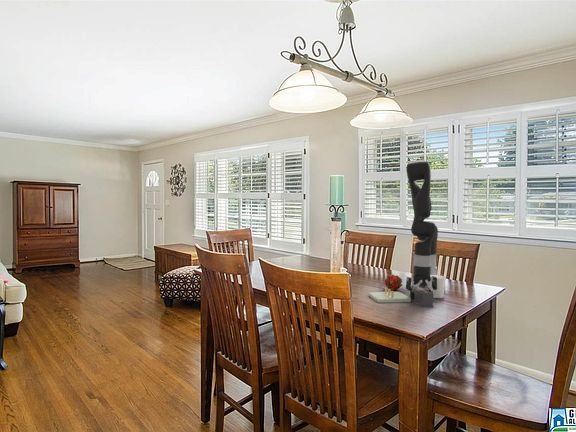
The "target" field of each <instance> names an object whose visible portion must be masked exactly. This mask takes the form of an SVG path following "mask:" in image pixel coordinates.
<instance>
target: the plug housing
mask: <svg viewBox="0 0 576 432" xmlns="http://www.w3.org/2000/svg"><path fill="white" fill-rule="evenodd" d="M414 292H415V295H414V300H412V299H411V301H412V302H413V303H416V304H417V305H418V306H421V307H422V308H424V307H425V308H427V307H429V308H431V307H433V306H434V298H433V293H432V292H430V291H428V289H427V288H425V287H424V288H423V286H422V287H419V286H418V288H416V289H415V291H414Z"/></svg>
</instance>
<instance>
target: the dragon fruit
mask: <svg viewBox="0 0 576 432" xmlns="http://www.w3.org/2000/svg"><path fill="white" fill-rule="evenodd" d="M384 284H385V287H388V289H391V291H394V290H395V292H398V290H400V288H402V287H403V278H401V277H400V276H399V275H398V274H397V275H395V274H391V275H388V276H387V277H386V278H385V280H384Z"/></svg>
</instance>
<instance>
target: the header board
mask: <svg viewBox="0 0 576 432" xmlns="http://www.w3.org/2000/svg"><path fill="white" fill-rule="evenodd" d="M368 297H370V298H371V299H373V301H375V302H376V303H380V304H381V303H407V302H409V303H410V302H411V301H412V300H411V298H410V296H407V295H406V294H404V293H403V292H400V291H394V290H392V291H391V289H388V287H386V286H385V287H384V291H379V292H378V291H376V292H373V291H372V292H368Z"/></svg>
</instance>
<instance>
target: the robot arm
mask: <svg viewBox="0 0 576 432" xmlns="http://www.w3.org/2000/svg"><path fill="white" fill-rule="evenodd" d="M431 172H432V171H431V165H430V162H429V161H428V160H421V161H413V162H408V163H407V165H406V175H407V181H408V184H409V189H410V195H411V202H412V209H413V213H414V214H413V215H414V216H413V221H412V224H411V228H410V231H411V234H412V236H414V237H416V238H417V240H419V241H416V242H415V243H414V254H413V255H414V257H413V266H412V267H413V269H412V270H413V274H412V275H413V276H412V277H410V276H406V278H405V279H406V281H405V289H406V290H407V291H409V298H411V299H412V300H414V295H415V292H414V291H415V289H416V288H418V287H422V288H423V287H424V288H425V287H426V289H427V290H428V291H430V292H432V293H433V291H434V290H437V278H436V277H434V276H432V277H430V275H438V267H437V249H438V248H437V247H438V238H439V237H438V236H439V228H438V226H437V225H436V224H435V223H434V221H430V220H429V221H427V220H426V219H428V218H430V216H431V211H432V200H431V199H432V198H431V196H430V194H431V182H432V181H431V179H432V173H431ZM417 181H423V183H422V185H421V186H420V185H419V184H418V183H417ZM430 280H431V281H432V287H431V285H430V283H429V282H430ZM412 300H411V301H412Z"/></svg>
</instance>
